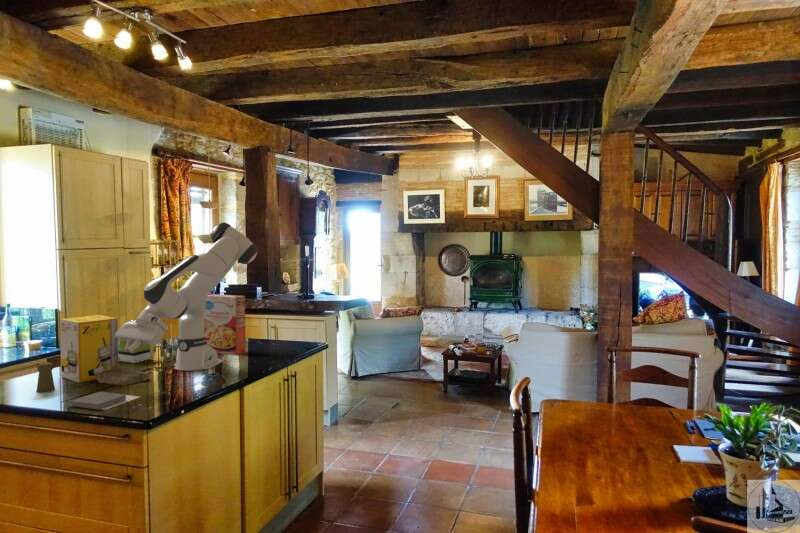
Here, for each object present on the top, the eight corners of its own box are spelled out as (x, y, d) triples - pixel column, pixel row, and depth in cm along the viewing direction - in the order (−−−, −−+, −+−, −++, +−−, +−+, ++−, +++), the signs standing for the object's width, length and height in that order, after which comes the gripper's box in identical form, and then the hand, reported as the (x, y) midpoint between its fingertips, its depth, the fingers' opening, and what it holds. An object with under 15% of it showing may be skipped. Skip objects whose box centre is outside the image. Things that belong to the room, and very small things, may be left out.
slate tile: (99, 391, 196) (71, 400, 184) (125, 394, 192) (98, 404, 181) (99, 396, 196) (71, 406, 185) (125, 400, 192) (98, 410, 181)
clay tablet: (87, 383, 217) (124, 387, 210) (87, 371, 217) (124, 375, 210) (116, 376, 230) (151, 380, 224) (116, 365, 230) (151, 368, 223)
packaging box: (118, 374, 230) (118, 318, 229) (79, 382, 217) (78, 322, 216) (100, 369, 239) (99, 314, 238) (61, 376, 226) (59, 319, 225)
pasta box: (199, 351, 279) (199, 295, 278) (209, 348, 287) (209, 294, 286) (235, 355, 272) (235, 297, 271) (245, 352, 280) (245, 295, 278)
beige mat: (107, 394, 201) (106, 392, 201) (140, 398, 197) (140, 396, 197) (69, 406, 186) (69, 404, 186) (105, 411, 181) (105, 409, 181)
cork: (42, 388, 208) (41, 361, 207) (58, 388, 209) (57, 360, 208) (32, 393, 202) (32, 364, 201) (49, 392, 202) (48, 364, 202)
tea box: (111, 360, 257) (110, 330, 256) (128, 356, 266) (128, 327, 266) (133, 363, 251) (133, 332, 251) (151, 359, 261) (150, 329, 260)
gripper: (123, 315, 215) (103, 343, 206) (163, 319, 208) (143, 348, 199) (132, 324, 219) (112, 352, 210) (171, 329, 212) (152, 357, 203)
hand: (128, 350), depth 205 cm, fingers closed
